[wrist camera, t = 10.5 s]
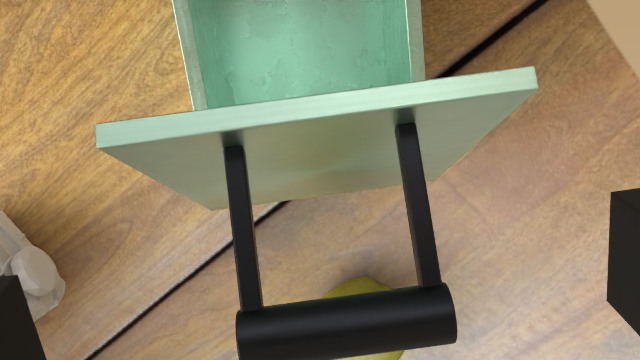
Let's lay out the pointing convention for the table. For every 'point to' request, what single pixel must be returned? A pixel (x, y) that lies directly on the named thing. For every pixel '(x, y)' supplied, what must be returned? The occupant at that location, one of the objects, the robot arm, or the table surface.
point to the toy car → (29, 269)
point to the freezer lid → (327, 193)
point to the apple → (360, 287)
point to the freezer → (296, 47)
